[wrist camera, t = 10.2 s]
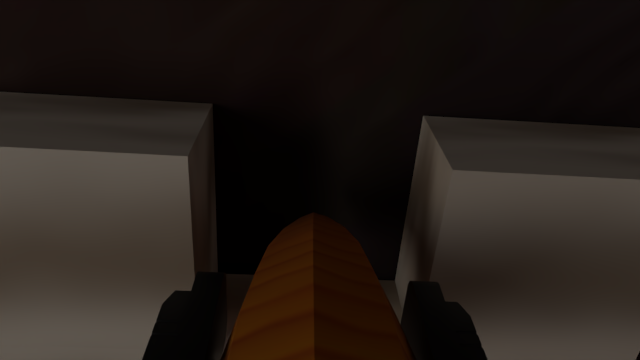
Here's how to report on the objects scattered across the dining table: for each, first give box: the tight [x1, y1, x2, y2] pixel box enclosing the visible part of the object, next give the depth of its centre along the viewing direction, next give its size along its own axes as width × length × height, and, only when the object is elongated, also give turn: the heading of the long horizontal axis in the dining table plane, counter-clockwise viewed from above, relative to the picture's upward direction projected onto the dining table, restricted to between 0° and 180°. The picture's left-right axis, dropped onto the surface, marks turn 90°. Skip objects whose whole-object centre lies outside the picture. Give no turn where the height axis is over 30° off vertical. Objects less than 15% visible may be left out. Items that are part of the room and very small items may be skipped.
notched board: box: [0, 92, 640, 360], centre depth 18 cm, size 12×22×4 cm, turn 86°
